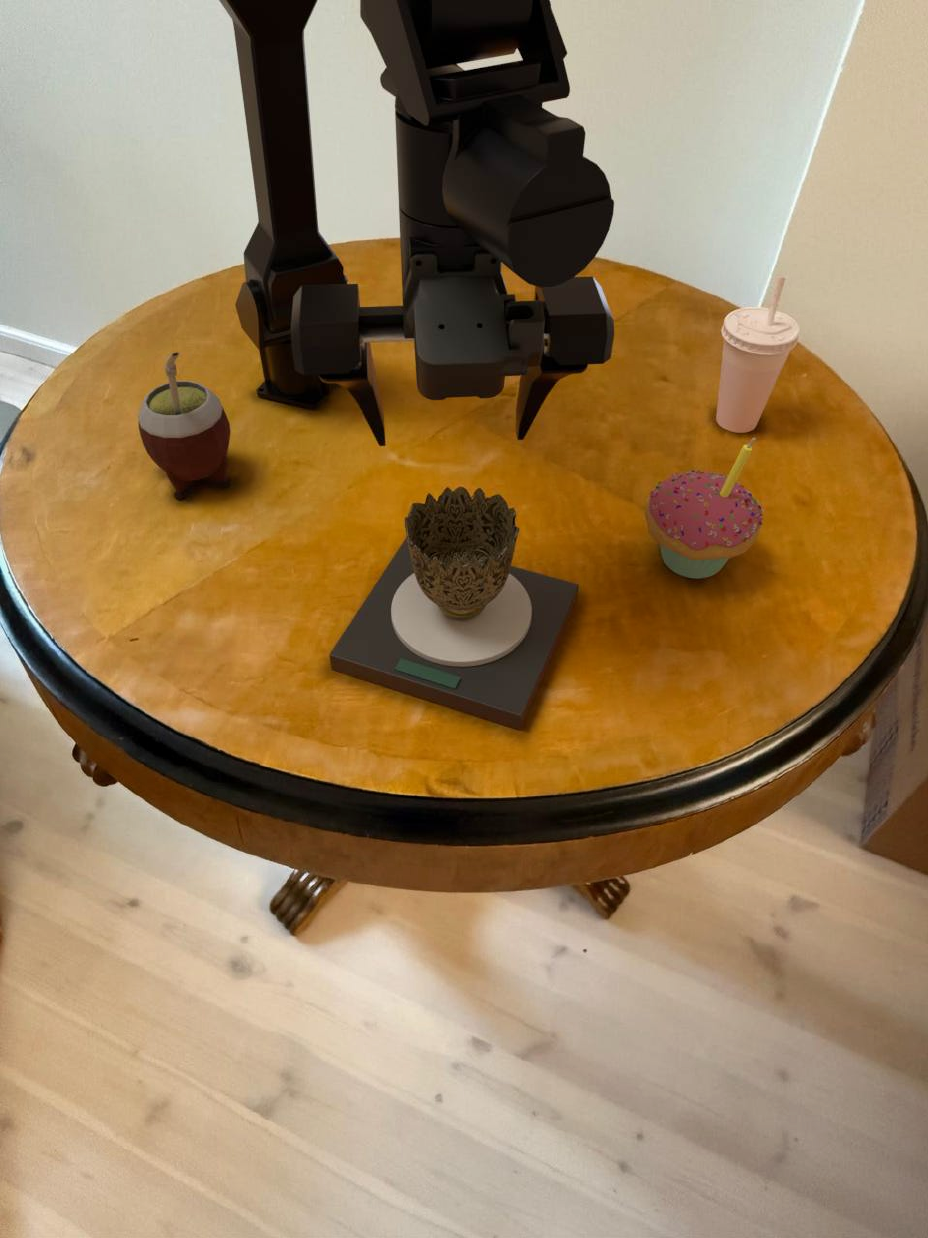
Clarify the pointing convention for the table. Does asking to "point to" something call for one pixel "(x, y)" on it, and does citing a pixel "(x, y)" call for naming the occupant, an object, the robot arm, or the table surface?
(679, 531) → the cupcake
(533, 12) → the robot arm
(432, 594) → the cup
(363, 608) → the scale
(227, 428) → the mate gourd
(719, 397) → the smoothie
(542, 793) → the table surface
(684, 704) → the table surface
